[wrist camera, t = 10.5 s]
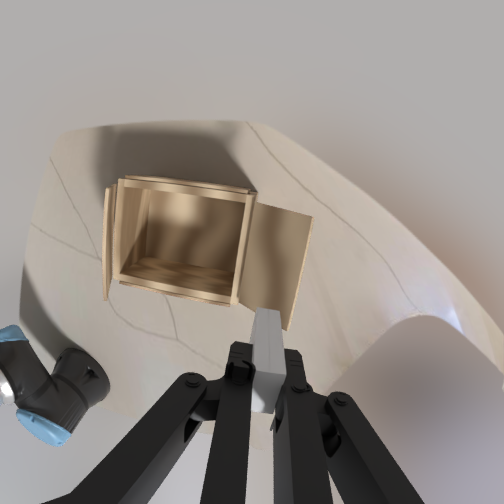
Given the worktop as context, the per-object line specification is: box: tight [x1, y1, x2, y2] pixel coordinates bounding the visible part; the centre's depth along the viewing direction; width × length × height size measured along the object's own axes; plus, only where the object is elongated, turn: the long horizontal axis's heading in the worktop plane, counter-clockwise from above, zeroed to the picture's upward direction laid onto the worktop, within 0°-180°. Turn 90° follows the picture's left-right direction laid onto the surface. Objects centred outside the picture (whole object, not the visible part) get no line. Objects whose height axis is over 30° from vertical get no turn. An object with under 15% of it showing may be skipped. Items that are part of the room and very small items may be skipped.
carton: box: [114, 175, 258, 307], centre depth 39 cm, size 18×15×10 cm
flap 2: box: [239, 202, 314, 331], centre depth 31 cm, size 8×13×1 cm
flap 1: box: [102, 184, 117, 301], centre depth 30 cm, size 8×13×1 cm
